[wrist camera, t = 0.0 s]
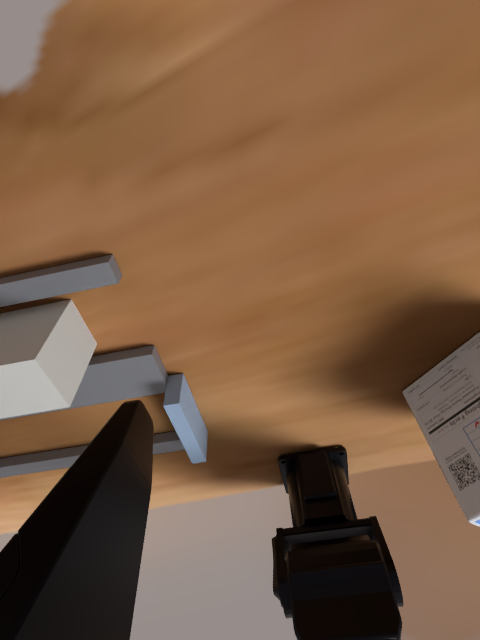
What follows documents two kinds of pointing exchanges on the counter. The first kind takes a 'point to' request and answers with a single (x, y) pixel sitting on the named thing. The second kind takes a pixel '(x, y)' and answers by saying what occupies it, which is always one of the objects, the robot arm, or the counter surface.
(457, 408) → the light bulb box
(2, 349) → the white rectangular prism
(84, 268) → the grey long bars
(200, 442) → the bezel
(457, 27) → the counter surface
